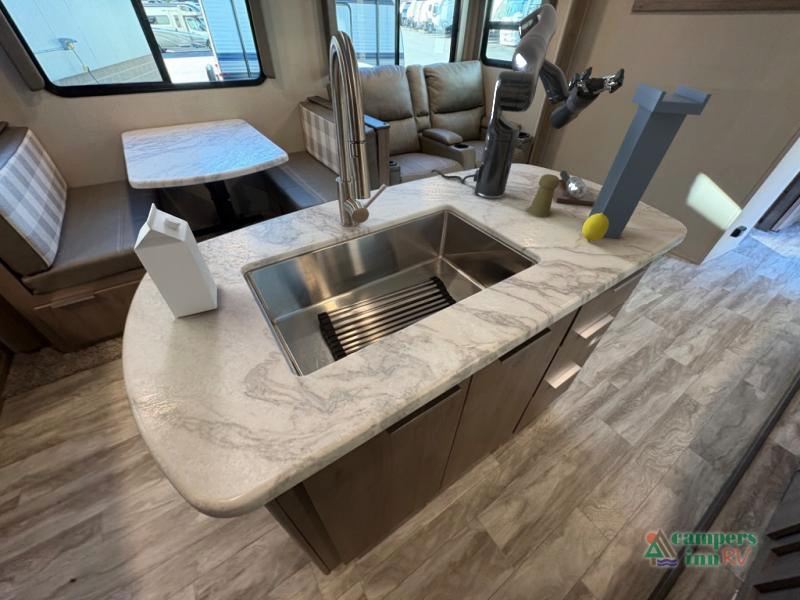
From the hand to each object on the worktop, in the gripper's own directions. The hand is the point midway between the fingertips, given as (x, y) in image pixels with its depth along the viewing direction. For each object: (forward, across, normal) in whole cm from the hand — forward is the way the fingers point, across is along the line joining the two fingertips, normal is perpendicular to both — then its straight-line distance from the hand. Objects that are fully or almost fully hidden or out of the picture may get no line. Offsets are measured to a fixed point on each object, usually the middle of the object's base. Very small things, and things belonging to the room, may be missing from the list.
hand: (606, 71), depth 92 cm
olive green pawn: (+4, -12, +41) cm, 43 cm away
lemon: (+17, -1, +49) cm, 52 cm away
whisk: (-10, 0, +31) cm, 32 cm away
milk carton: (+53, -85, +70) cm, 123 cm away
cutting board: (-10, 0, +32) cm, 34 cm away
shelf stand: (+11, +4, +45) cm, 47 cm away
